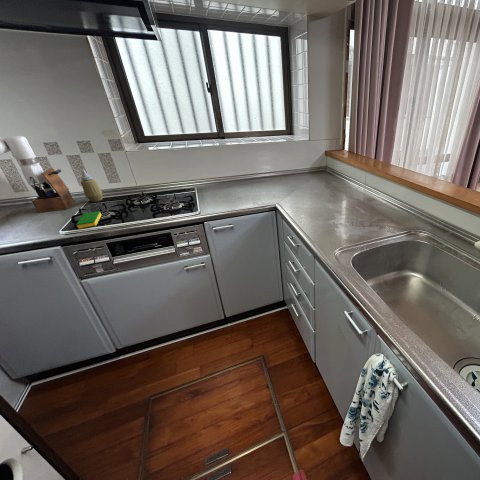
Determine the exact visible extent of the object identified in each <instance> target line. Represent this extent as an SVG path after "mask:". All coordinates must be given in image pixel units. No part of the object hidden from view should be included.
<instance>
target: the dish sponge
mask: <svg viewBox="0 0 480 480" xmlns="http://www.w3.org/2000/svg"><path fill="white" fill-rule="evenodd" d="M101 217H102V213H101V211H100V210H97V211H91V212H86V213H82V214H81V216H80V218H79V219H78V221H77V223H76V224H75V225H76V227H77V229H85V228H91V227H96V226H97V225H98V224H99V221H100V219H101Z"/></svg>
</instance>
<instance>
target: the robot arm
mask: <svg viewBox="0 0 480 480" xmlns="http://www.w3.org/2000/svg"><path fill="white" fill-rule="evenodd" d="M9 152H11V155H12V156H13V157H14V159H15V160H16V162H17V164H18V165H19V167H20V170H21V172H22V175H23V176H24V179H25V181H26V183H27V184H28V185H29V186H30V187H31V188H32V189H33V190H34V191H35V193H36V192H37V193H36V195H37V194H38V195H37V197H38V196H39V197H47V195H46V193H45V191H44V189H48V188H52V186H51V185H50V184H49V183H48V181H47V180H46V179H45V178H44V176H43V175H42V174H41V173H42V172H44V171H45V170H44V169H43V168H42V166H41V164H40V161H39V159H38V158H37V156H36V154H35V152H34V150H33V148H32V147H31V145H30V143H29V140H28V139H27V138H26V137H25V136H24V135H12V136H0V156H1V155H3V154H7V153H9Z"/></svg>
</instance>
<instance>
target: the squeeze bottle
mask: <svg viewBox="0 0 480 480" xmlns="http://www.w3.org/2000/svg"><path fill="white" fill-rule="evenodd" d="M81 175H82V176H81V177H80V180H81V181H80V184H81V188H82V190H83V193H84V196H85V197H86V198H87V200H88V201H90V202H91V203H93V202H100V201H102V200H103V191H102V189H101V188H100V186H99V184H98V182H97V181H96V179H94V178H92V175H89V174H88V173H87V172H86V170H85V169H81Z"/></svg>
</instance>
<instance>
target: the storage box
mask: <svg viewBox="0 0 480 480" xmlns="http://www.w3.org/2000/svg"><path fill="white" fill-rule="evenodd" d="M31 203H32V205H33V206H34V208H35V209H36V211H37V213H39V214H40V213H48V212H54V211H55V212H56V211H61V210H67V209H69V207H71V206H72V205H73V204H74V203H75V200H74V197H73V196H72V194H71V191H70V190H68V191H67V192H66V193H65V194H63V195H62V196H61V197H59V195H58V194H57V193H56V192H55V194H53V195H52V196H49V197H39V196H38V195H37V196H36V197H35V198H34V199H32V200H31Z"/></svg>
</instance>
